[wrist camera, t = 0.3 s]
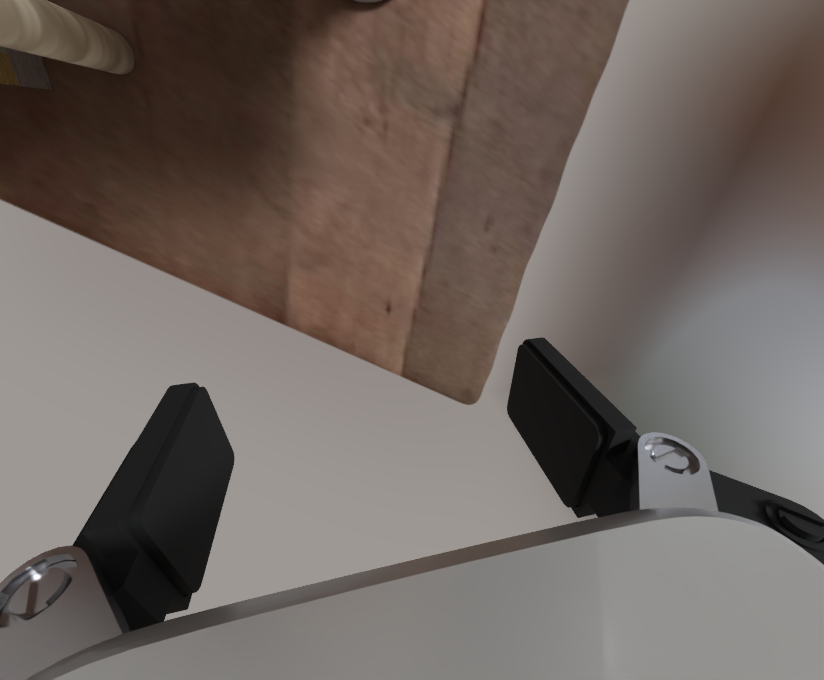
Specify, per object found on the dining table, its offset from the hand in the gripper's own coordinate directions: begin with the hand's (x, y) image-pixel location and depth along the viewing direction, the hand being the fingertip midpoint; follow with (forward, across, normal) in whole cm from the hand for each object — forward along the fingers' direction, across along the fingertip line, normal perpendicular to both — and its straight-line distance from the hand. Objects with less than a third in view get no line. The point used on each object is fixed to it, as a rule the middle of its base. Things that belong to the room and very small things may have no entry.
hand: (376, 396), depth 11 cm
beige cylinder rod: (+36, +18, -13) cm, 42 cm away
